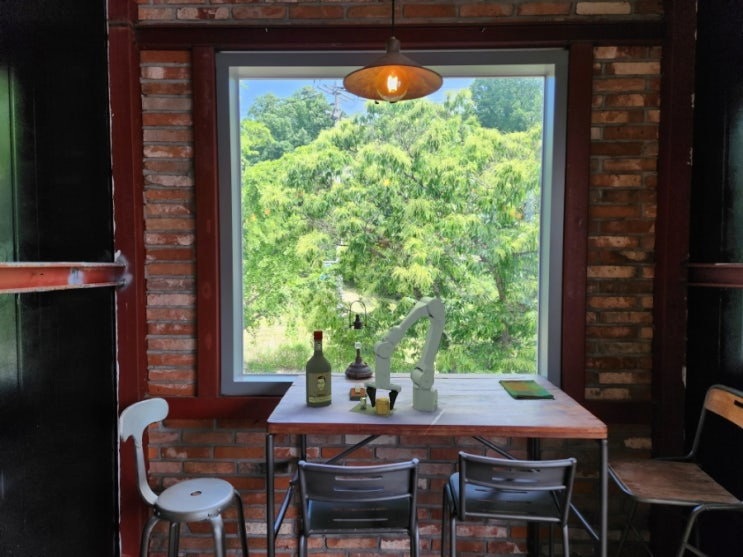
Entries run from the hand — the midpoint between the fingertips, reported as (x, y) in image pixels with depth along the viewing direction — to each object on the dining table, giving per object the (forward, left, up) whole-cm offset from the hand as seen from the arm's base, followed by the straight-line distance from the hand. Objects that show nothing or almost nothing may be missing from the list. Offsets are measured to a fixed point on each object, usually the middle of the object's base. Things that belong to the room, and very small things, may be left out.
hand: (382, 408), depth 164 cm
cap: (0, 0, -1) cm, 1 cm away
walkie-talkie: (+17, -16, -3) cm, 23 cm away
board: (+4, 0, -2) cm, 5 cm away
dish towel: (-46, -52, -3) cm, 70 cm away
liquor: (+27, +2, -3) cm, 27 cm away
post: (+8, 0, -1) cm, 8 cm away
